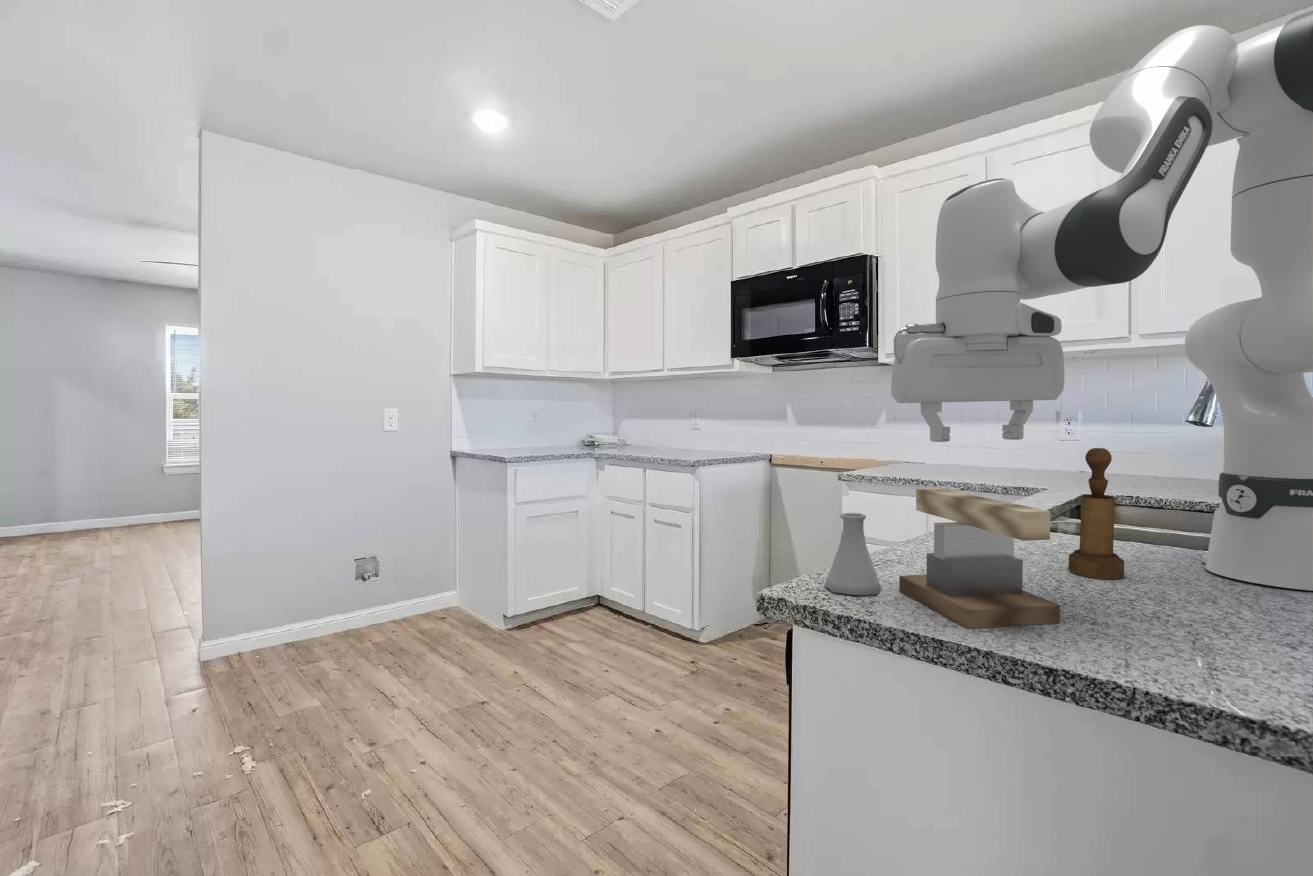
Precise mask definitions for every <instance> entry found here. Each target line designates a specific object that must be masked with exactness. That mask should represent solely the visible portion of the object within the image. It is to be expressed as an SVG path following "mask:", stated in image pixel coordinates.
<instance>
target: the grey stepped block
mask: <svg viewBox="0 0 1313 876" xmlns="http://www.w3.org/2000/svg"><path fill="white" fill-rule="evenodd" d="M1023 569H1024V559H1023V558H1018V557H1016V556H1015V538H1012V537H1008V536H1005V535H1001V534H998V533H994V532H991V531H987V530H984V529H980V528H977V527H973V526H970V525H966V524H963V523H959V522H956V521H952V522H934V523H933V552H926V575H927V577H926V585H927V586H929V587H931V588H933V589H935V590H937V591H939V592H941V593H943V594H946V595H948V596H950V597H966V596H985V595H1004V594H1022V590H1023V581H1024V580H1023Z"/></svg>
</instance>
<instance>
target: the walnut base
mask: <svg viewBox="0 0 1313 876" xmlns="http://www.w3.org/2000/svg"><path fill="white" fill-rule="evenodd" d="M926 577H927V574H911V575H910V574H909V575H899V581H898V582H899V586H898V588H899V590H898V591H899V592H901V593H902V594H904V595H906V596H907V597H909V598H912V599H913V600H915V601H916V602H919V603H920V604H922V605H924V606H926V607H928V608H930V609H931V610H934V611H936V612H937V613H939V614H941V615H943V616H944V617H946V618H948V619H950V620H952V621H954V622H955V623H957V624H959V625H961V626H963V627H965V628H966V629H979V628H980V629H981V628H982V629H983V628H985V629H986V628H999V627H1014V626H1015V627H1016V626H1032V625H1034V626H1035V625H1047V624H1048V625H1050V624H1060V623H1061V604H1059V603H1056V602H1054V601H1051V600H1049V599H1045V598H1043V597H1041V596H1038V595H1036V594H1033V593H1030V592H1028V591H1026V590H1023V589H1022V594H1004V595H985V596H966V597H950V596H948V595H946V594H943V593H941V592H939V591H937V590H935V589H933V588H931V587H929V586H927V585H926Z"/></svg>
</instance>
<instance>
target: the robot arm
mask: <svg viewBox="0 0 1313 876" xmlns="http://www.w3.org/2000/svg"><path fill="white" fill-rule="evenodd" d="M1234 139H1236V141H1237V144H1238V146H1239V149H1238V152H1237V158H1236V162H1235V167H1234V173H1233V179H1232V180H1233V181H1232V189H1231V190H1232V192H1231V214H1230V215H1231V218H1230V221H1231V222H1230V253H1231V255H1232V257H1233V259H1235V260H1236V261H1237V262H1239V263H1241V264H1243V265H1246V266H1247V267H1250V268H1251V269H1252V271H1253V272H1254V273H1255V275H1256V278H1257V280H1258V282H1259V286H1260V290H1261V297H1257V298H1253V299H1247V300H1243V301H1238V302H1232V303H1230V304H1227V305H1224V306H1221V307H1220V308H1217V309H1215V310H1213V311H1211V312H1208V313H1207V314H1205V315H1203V316H1200V317H1199V318H1198V319H1196V320H1195V321H1194V322H1192V324H1191V326H1190V327H1189V329H1188V331H1187V333H1186V336H1185V337H1184V338H1185V339H1184V351H1185V353H1186V356H1187V358H1188V360H1189V362H1190V363H1191V364H1192V365H1193V366H1194V367H1195V368H1197V369H1198V370H1200V371H1201V372H1202V373H1203V374H1204V375H1205V377H1207V379H1208V381H1209V382H1210V383H1209V384H1211V386H1212V388H1213V391H1214V394H1215V396H1216V399H1217V401H1218V404H1219V408H1220V410H1221V417H1222V421H1223V422H1222V423H1223V472H1220V473H1219V475H1218V476H1219V477H1218V481H1217V487H1218V488H1217V489H1218V490H1217V491H1218V493H1217V494H1218V497H1219V498H1221V502H1220V504H1219V506H1218V507H1217V508H1216V509H1215V511H1214V515H1213V518H1212V525H1211V532H1210V539H1209V543H1208V550H1207V553H1204V554H1203V553H1202V557H1201V562H1202V563H1204V564H1205V566H1204V569H1205V570H1207V571H1208V572H1210V573H1212V574H1216V575H1219V576H1222V577H1225V578H1229V579H1235V580H1238V581H1244V582H1248V583H1251V584H1252V583H1253V584H1259V585H1265V586H1272V587H1278V588H1285V589H1293V590H1303V591H1311V592H1312V591H1313V396H1312V394H1311V393H1310V391H1309V388H1308V386H1307V384H1306V380H1305V376H1304V374H1305V373H1306V374H1307V373H1313V10H1311V11H1308V12H1306V13H1302V14H1300V15H1296V16H1295V17H1293V18H1290V19H1289V20H1288V21H1287V22H1286V23H1285V24H1282V25H1280V26H1276V27H1274V28H1271V29H1269V30H1267V31H1264V32H1262V33H1259V34H1257V35H1255V36H1253V37H1251V38H1249V39H1246V40H1244V41H1242V42H1240V43H1239V44H1238V43H1237V41H1236V40H1235V38H1234V36H1233V35H1232V34H1230V33H1229V31H1227V30H1226V29H1225V28H1221V27H1219V26H1216V25H1209V24H1201V25H1199V24H1197V25H1194V26H1192V25H1191V26H1189V27H1185V28H1183V29H1180V30H1178V31H1175V32H1174V33H1172V34H1171V35H1169V36H1167V37H1166V38H1165V39H1163V41H1161V42H1160V43H1158V44H1157V45H1156V46H1155V47H1153V49H1151V50H1150V51H1149V52H1147V54H1146V55H1144V57H1143V58H1141V59H1140V60H1139V61H1138V62H1137V63H1136V64H1135V65H1134V66H1133V67H1132V68H1131V70H1130V71H1129V72H1128V73H1127V74H1126V75H1124V76H1123V78H1122V79H1121V80H1120V82H1119V83H1118V84H1117V85H1116V87H1114V88H1113V90H1112V91H1111V93H1109V95H1108V96H1107V97H1106V99H1105V100H1104V101H1103V103H1102V105H1101V106H1100V108H1099V109H1098V111H1097V112H1096V115H1095V116H1094V119H1093V121H1092V123H1091V125H1090V128H1089V141H1090V146H1091V149H1092V152H1093V153H1094V155H1095V157H1096V158H1097V159H1098V160H1099V161H1100V163H1102V164H1103V165H1104V166H1106V167H1107V168H1108V169H1110V170H1112V171H1115V172H1117V173H1119V174H1121V175H1120V176H1119V178H1118V179H1116V180H1115V181H1114V182H1113V183H1111V184H1109V185H1108V186H1105V187H1102V188H1101V189H1098V190H1095V191H1093V192H1092V193H1090V194H1087V195H1086V196H1084V197H1081V198H1079V199H1077V200H1074V201H1072V202H1067V203H1065V204H1064V205H1063V204H1062V205H1061V206H1058V207H1056V208H1053V209H1050V210H1048V211H1045V212H1044V211H1042V210H1039V209H1037V208H1035V207H1033V206H1031V205H1030V204H1029V203H1027V202H1025V201H1024V199H1022V198H1021V196H1020V195H1019V194H1018V193H1017V192H1016V187H1015V184H1014V181H1013V180H1012V179H1008V178H992V179H988V180H983V181H980V182H977V183H974V184H970V185H968V186H966V187H963V188H961V189H960V190H957V191H956V192H954V193H952V194H951V195H949V196H948V197H947V198H946V199H944V201H943V203H942V205H941V207H940V210H939V213H938V217H937V224H936V235H935V269H936V272H937V274H938V289H937V292H936V295H935V296H936V297H935V323H926V324H919V323H909V324H905V326H904V327H903V328H901V329H899V330H898V331H897V332H896V334H895V335H894V337H893V356H894V361H893V367H892V373H891V383H890V384H891V387H890V394H891V397H892V398H893V399H894V401H895V402H896V403H897V404H920V414H921V416H922V418H923V419H924V421H925V422H926V424H927V426H928V427H929V439H930V440H929V441H931V442H934V443H944V442H945V443H946V442H947V443H948V442H950V440H951V435H950V433H951V426H944V423H943V422H942V420H941V418H940V415H939V414H938V413H942V411H943V410H942V408H943V407H942V405H943V403H965V402H966V403H968V402H969V403H970V402H973V403H974V402H979V403H980V402H1009V410H1010V411H1013V413H1012V415H1011V418H1010V420H1009V421H1008V424H1002V427H1001V428H1002V429H1001V430H1002V433H1001V434H1002V435H1001V436H1002V439H1004V440H1008V441H1009V440H1011V441H1014V440H1023V439H1024V435H1025V434H1024V433H1025V431H1024V428H1025V427H1024V425H1026V423H1027V422H1028V420H1029V418H1030V417H1031V414H1032V413H1033V411H1034V401H1053V400H1054V401H1056V400H1058V398H1059V397H1060V396H1061V394H1062V393H1063V391H1064V387H1065V361H1064V360H1065V358H1064V350H1063V346H1062V345H1061V342H1060V341H1059V340H1058V339H1057V338H1055V337H1054V336H1057V335H1059V334H1060V333H1062V332H1061V331H1062V320H1061V318H1060V317H1059V316H1057V315H1055V314H1052V313H1048V312H1046V311H1043V310H1040V309H1039V308H1035V307H1032V306H1030V305H1028V304H1026V303H1023V302H1021V300H1022V301H1023V300H1024V301H1025V300H1035V299H1040V298H1043V297H1048V296H1054V295H1055V296H1056V295H1060V294H1065V293H1068V292H1069V293H1070V292H1073V291H1077V290H1083V289H1086V288H1096V287H1103V286H1111V285H1117V284H1124V283H1128V282H1131V281H1133V280H1135V279H1137V278H1139V277H1140V276H1141V275H1143V274H1144V273H1145V272H1146V271H1147V270H1148V269H1149V268H1150V267H1151V265H1152V264H1153V263H1154V262H1155V260H1156V259H1157V257H1158V256H1159V254H1160V252H1161V250H1162V247H1163V245H1164V242H1165V238H1166V234H1167V232H1168V225H1169V223H1170V219H1171V217H1172V214H1173V212H1174V210H1175V207H1176V206H1177V204H1178V202H1179V200H1180V199H1181V196H1182V194H1183V193H1184V192H1185V190H1186V188H1187V186H1188V184H1189V183H1190V180H1191V178H1192V177H1193V175H1194V173H1195V171H1196V169H1197V168H1198V166H1199V164H1200V162H1201V160H1202V158H1203V156H1204V154H1205V152H1206V149H1207V148H1208V147H1212V146H1214V145H1218V144H1222V143H1225V142H1228V141H1231V140H1234ZM904 332H905V333H904Z"/></svg>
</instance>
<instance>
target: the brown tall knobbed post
mask: <svg viewBox="0 0 1313 876" xmlns="http://www.w3.org/2000/svg"><path fill="white" fill-rule="evenodd" d="M1084 457H1085V462H1086V463H1087V466H1088V467H1089V468H1090V470H1091V477H1090V478H1089V479H1088V481H1087V482H1088V486H1089V489H1090V492H1091V494H1081V496H1080V527H1079V528H1080V531H1079V533H1080V534H1079V549H1078V548H1077V549H1075V550H1074V551H1073V552H1071V553H1070V554H1069V555H1068V565H1067V566H1068V571H1069V572H1070V573H1073V574H1076V575H1077V576H1078V575H1079V576H1082V577H1087V578H1093V579H1099V580H1100V579H1101V580H1119V579H1124V577H1125V560H1124V559H1123V558H1121V557H1120V556H1119V555H1118V554H1117V553H1115V552H1114V536H1115V535H1114V534H1115V533H1114V532H1115V511H1116V509H1115V508H1116V497H1115V496H1110V495H1105V493H1106V490H1107V487H1108V484H1109V480H1108V479H1106V477H1105V473H1106V470H1107V468H1108V467H1109V466H1110V465H1111V463H1112V460H1113V459H1112V457H1113V456H1112V454H1111V453H1110V450H1108V449H1107V448H1104V447H1094V448H1093V447H1092V448H1090V449H1089V450H1088V451H1087V452H1086V453H1085V456H1084Z"/></svg>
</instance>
